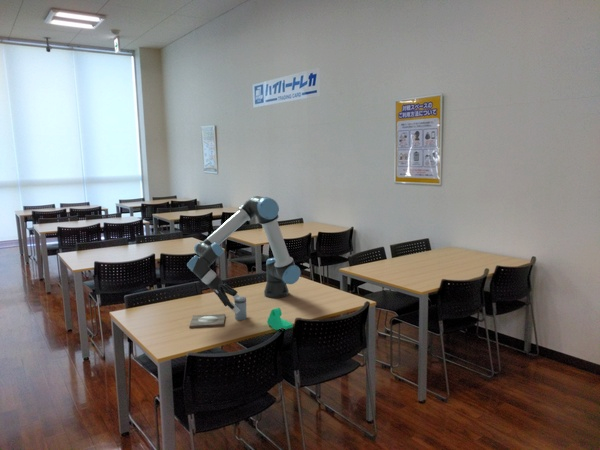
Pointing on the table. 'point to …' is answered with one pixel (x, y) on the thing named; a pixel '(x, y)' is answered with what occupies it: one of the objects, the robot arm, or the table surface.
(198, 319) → the mounting plate
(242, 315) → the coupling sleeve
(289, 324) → the green toy figure
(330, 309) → the table surface
